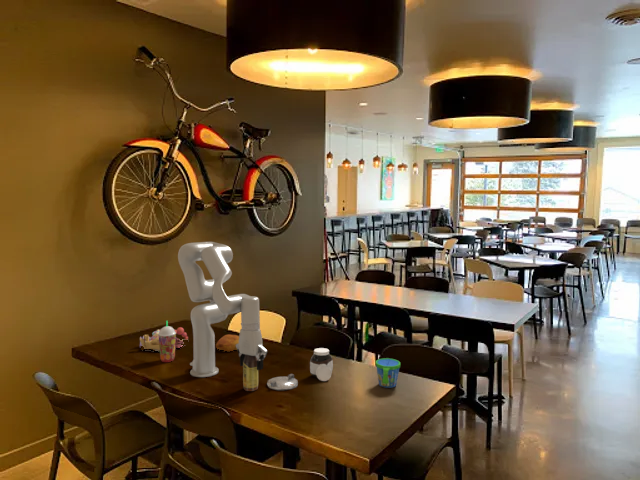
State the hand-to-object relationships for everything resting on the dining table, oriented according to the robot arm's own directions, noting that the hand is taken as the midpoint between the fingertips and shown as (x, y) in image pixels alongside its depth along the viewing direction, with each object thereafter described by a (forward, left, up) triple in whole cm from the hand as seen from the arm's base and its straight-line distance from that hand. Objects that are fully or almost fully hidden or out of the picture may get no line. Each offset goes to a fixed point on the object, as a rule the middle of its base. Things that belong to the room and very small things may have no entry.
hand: (251, 367), depth 197 cm
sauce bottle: (-1, 0, -10) cm, 10 cm away
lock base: (+6, +12, -10) cm, 17 cm away
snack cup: (+42, +39, -10) cm, 58 cm away
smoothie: (-60, +1, -10) cm, 60 cm away
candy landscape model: (-83, +15, -10) cm, 85 cm away
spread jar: (+14, +30, -10) cm, 35 cm away
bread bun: (-51, +34, -10) cm, 62 cm away
